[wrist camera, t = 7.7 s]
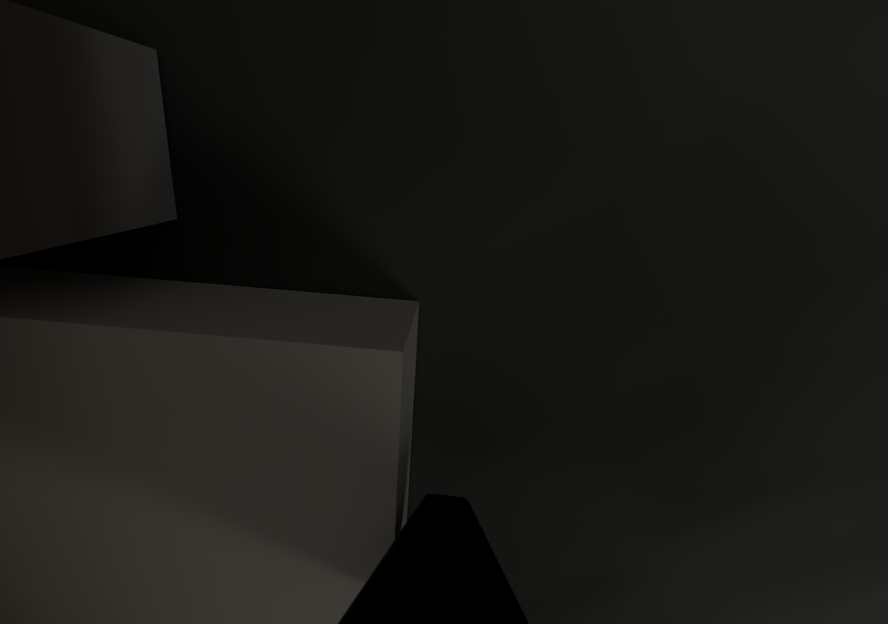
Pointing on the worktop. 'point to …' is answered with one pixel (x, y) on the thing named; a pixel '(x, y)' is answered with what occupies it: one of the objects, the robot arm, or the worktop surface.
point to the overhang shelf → (77, 134)
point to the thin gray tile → (197, 449)
